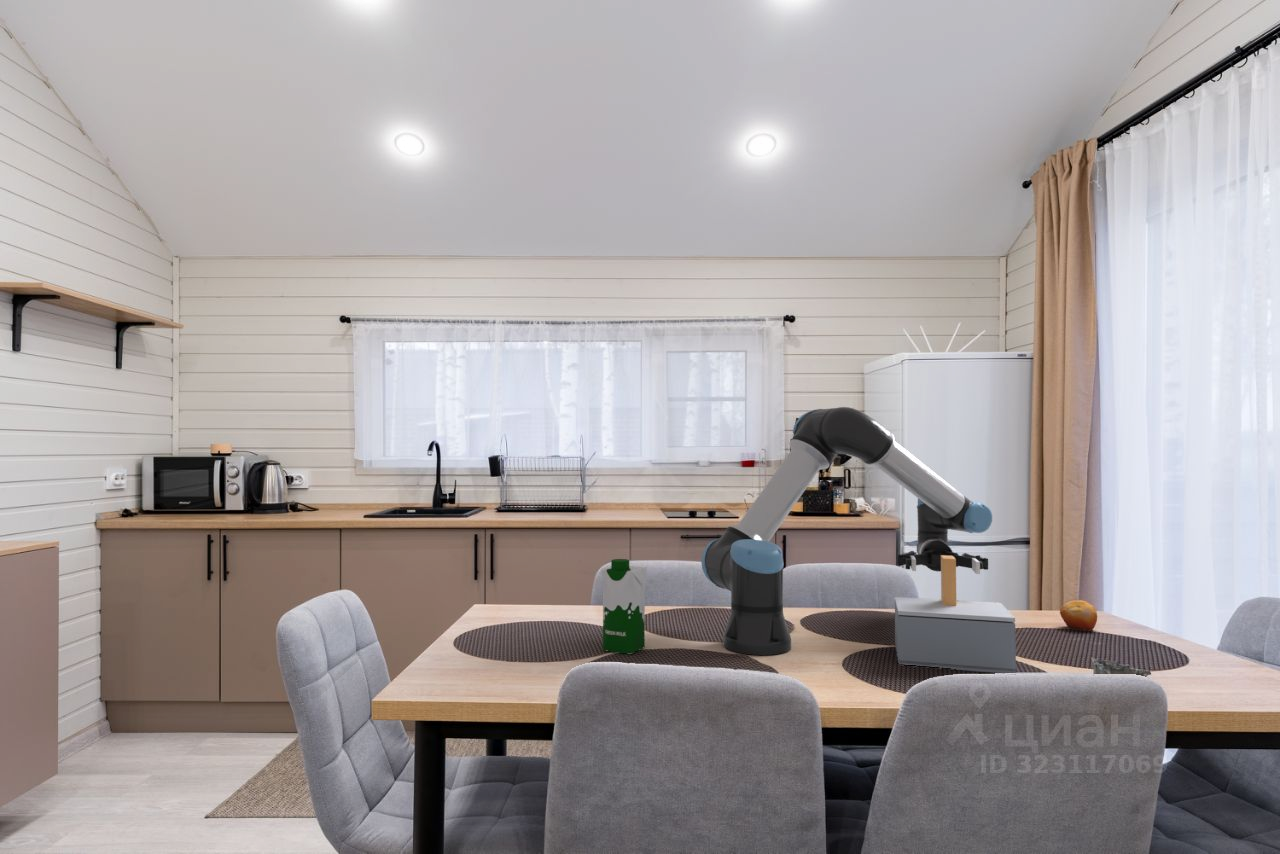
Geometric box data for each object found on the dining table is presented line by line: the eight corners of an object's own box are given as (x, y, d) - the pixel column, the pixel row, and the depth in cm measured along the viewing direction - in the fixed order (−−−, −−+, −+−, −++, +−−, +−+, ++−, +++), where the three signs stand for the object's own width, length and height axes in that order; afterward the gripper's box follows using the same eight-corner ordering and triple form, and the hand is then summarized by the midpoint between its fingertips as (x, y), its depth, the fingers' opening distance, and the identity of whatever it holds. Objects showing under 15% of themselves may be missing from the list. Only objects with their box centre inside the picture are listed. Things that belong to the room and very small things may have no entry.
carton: (898, 665, 153) (898, 616, 154) (895, 646, 168) (894, 601, 169) (1016, 674, 147) (1015, 623, 147) (1001, 653, 162) (1000, 607, 163)
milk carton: (597, 651, 163) (597, 560, 163) (615, 642, 171) (616, 555, 172) (633, 656, 159) (633, 562, 160) (650, 646, 167) (650, 557, 168)
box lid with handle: (898, 614, 154) (897, 562, 154) (894, 600, 169) (894, 552, 169) (1015, 621, 147) (1014, 567, 148) (1000, 606, 163) (999, 556, 163)
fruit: (1097, 620, 189) (1097, 596, 186) (1097, 642, 183) (1096, 617, 180) (1061, 616, 193) (1060, 592, 190) (1060, 637, 188) (1058, 613, 184)
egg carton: (1154, 695, 136) (1154, 672, 136) (1107, 691, 138) (1107, 669, 138) (1132, 677, 146) (1131, 656, 146) (1089, 674, 148) (1089, 653, 148)
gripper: (989, 571, 187) (1005, 585, 166) (885, 567, 194) (888, 580, 173) (989, 541, 187) (1005, 552, 167) (885, 538, 194) (888, 548, 174)
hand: (945, 566), depth 170 cm, fingers open, 13 cm apart
